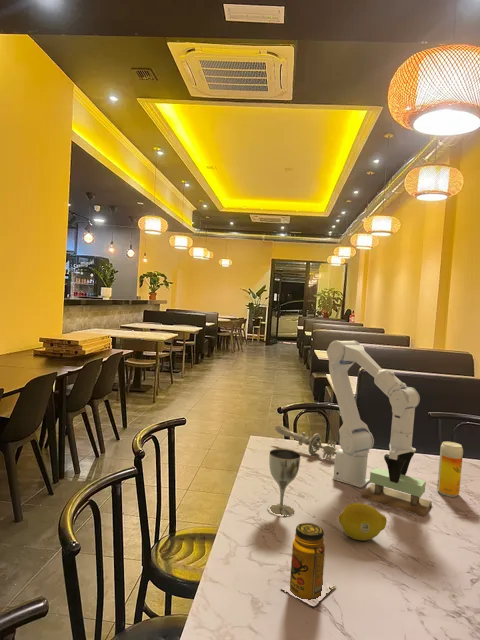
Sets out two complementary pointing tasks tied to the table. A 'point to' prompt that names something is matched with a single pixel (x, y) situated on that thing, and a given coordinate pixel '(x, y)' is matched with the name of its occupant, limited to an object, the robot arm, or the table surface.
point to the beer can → (450, 468)
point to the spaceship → (310, 441)
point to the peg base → (397, 499)
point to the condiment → (307, 562)
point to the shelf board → (404, 484)
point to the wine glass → (283, 474)
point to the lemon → (361, 521)
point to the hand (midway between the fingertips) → (398, 477)
